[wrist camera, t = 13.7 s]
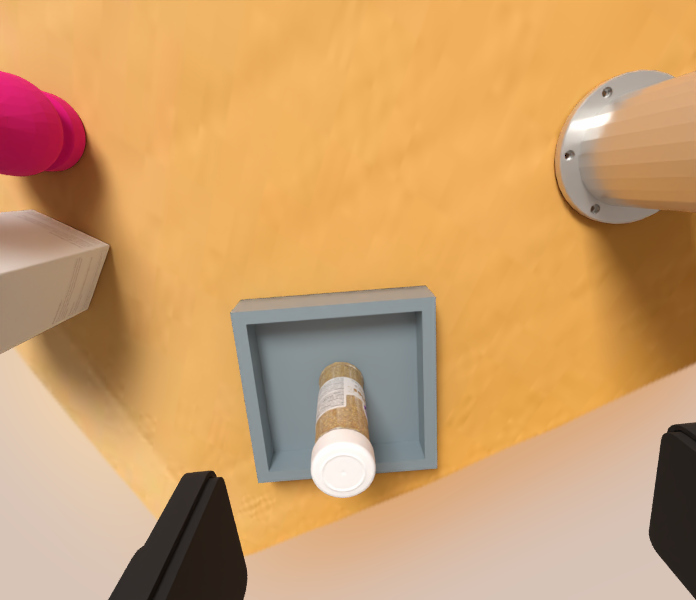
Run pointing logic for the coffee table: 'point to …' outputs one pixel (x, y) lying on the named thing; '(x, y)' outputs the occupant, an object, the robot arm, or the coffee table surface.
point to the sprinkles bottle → (342, 434)
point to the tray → (327, 348)
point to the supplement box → (43, 274)
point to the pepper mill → (36, 129)
